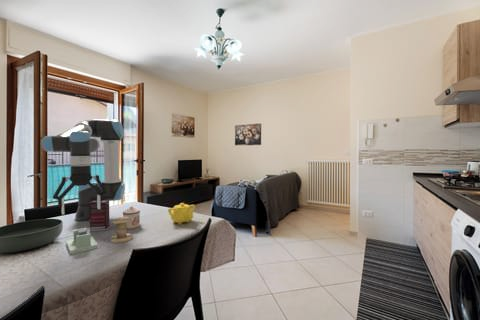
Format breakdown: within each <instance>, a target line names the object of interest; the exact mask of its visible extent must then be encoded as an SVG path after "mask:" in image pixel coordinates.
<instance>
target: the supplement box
mask: <svg viewBox="0 0 480 320" xmlns="http://www.w3.org/2000/svg"><path fill="white" fill-rule="evenodd" d="M89 206H90V220H89V231H90V232H96V231H97V232H98V231H101V232H102V231H107V230H108V229H110V228H111V227H110V226H111V225H110V222H111V221H110V220H111V219H110V201H102V202H100V209H98V208H97V201H92V202H90V203H89Z"/></svg>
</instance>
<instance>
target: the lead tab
mask: <svg viewBox="0 0 480 320" xmlns="http://www.w3.org/2000/svg"><path fill="white" fill-rule="evenodd" d="M85 228H86V227H82V228H77V235H82V234H87V233H88V229H87V230H86V229H85Z"/></svg>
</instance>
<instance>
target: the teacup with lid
mask: <svg viewBox="0 0 480 320" xmlns="http://www.w3.org/2000/svg"><path fill="white" fill-rule="evenodd" d="M140 213H141V210H140V209H139V208H136V207H134V206H132V205H131V206H129V207H128V208H127V209H125V210H123V211H122V217H130V221H129V222H127V229H128V230H129V229H136V228H138V227H140V224H141V223H140V220H141V219H140Z"/></svg>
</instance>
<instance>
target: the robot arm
mask: <svg viewBox="0 0 480 320" xmlns="http://www.w3.org/2000/svg"><path fill="white" fill-rule="evenodd" d="M124 134H125V133H124V126H123V124H122V122H121V121H119V120H117V119H97V118H95V119H87V120H83V121H81V122H77V123H76V124H75V125H74V126H73V127H71V128H70V129H68V130H66V131H64V132H62V133H59V134H57V135H45V136H44V137H43V138H42V139H41V143H40V144H41V147H42V149H43V151H44V152H49V153H50V152H52V153H67V152H69V153H70V155H69V156H70V160H69V161H70V165H71V166H70V176H62V177H61V181H60V184H58V187H57V188H56V190H55V192H54V194H52V199H53V200H57V205H58V208H61V215H65V199H64V198H65V196H66V195H67V194H68V193H69V192H70V191H71V190H72V189H73V188H74V187H75V186H76V187H78V189H77V190H78V191H77V194H78V196H77V197H78V203H77V204H78V207H77V210H76V212H75V213H76V214H75V216H74V217H75V218H74V219H75V220H76V221H79V222H80V221H90V206H89V203H90V202H92V201H97V208H98V209H100V202H102V201H109V202H111V201H112V202H115V201H121V200H122V199H123V198H124V194H125V190H126V184H125V182H123V180H122V179H121V178H120V159H119V158H120V155H119V154H120V153H119V152H120V151H119V143H120V142H121V141H122V139H123V138H124ZM97 138H100V141H101V142H102V144H103V167H104V170H103V171H104V179H103V180H102V181H101V180H100V175H99V174H94V175H92V166H91V161H92V159H91V156H92V155H91V153H93V152H96V151H98V149H100V146H101V145H100V141H99V140H98V139H97ZM92 179H93V180H95V181H92ZM69 180H70V182H71V183H70V184H69V185H68V186H67V187H66V188H65V189H64V191H62V190H63V187H64V186H65V184H66V183H67V182H68V181H69ZM61 191H62V192H61ZM59 194H60V195H59Z"/></svg>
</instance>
